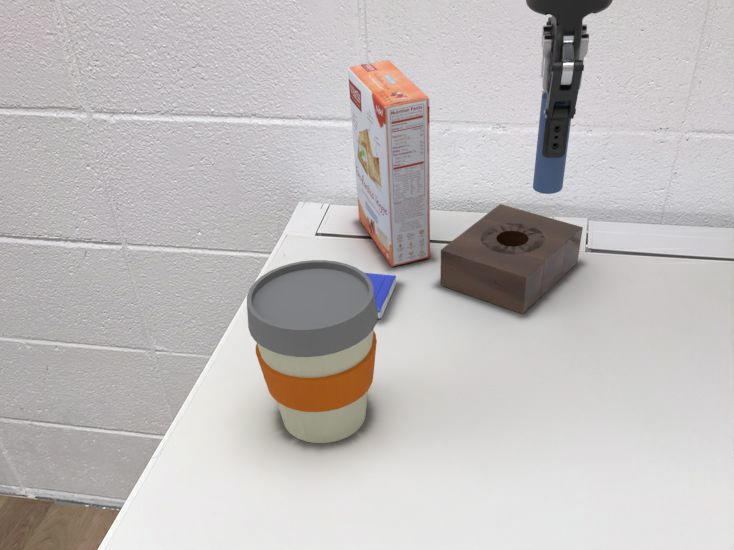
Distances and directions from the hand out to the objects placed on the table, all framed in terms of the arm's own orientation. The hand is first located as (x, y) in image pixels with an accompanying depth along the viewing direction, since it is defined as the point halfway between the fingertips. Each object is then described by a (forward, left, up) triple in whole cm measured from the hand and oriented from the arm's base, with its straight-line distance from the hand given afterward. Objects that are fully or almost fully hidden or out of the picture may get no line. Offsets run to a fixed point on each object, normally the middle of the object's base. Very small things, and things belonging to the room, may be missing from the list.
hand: (552, 147), depth 80 cm
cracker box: (-7, -26, -21) cm, 34 cm away
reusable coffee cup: (+27, -10, -21) cm, 35 cm away
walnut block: (-8, -8, -21) cm, 24 cm away
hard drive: (+7, -23, -21) cm, 32 cm away
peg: (0, 0, -4) cm, 4 cm away
